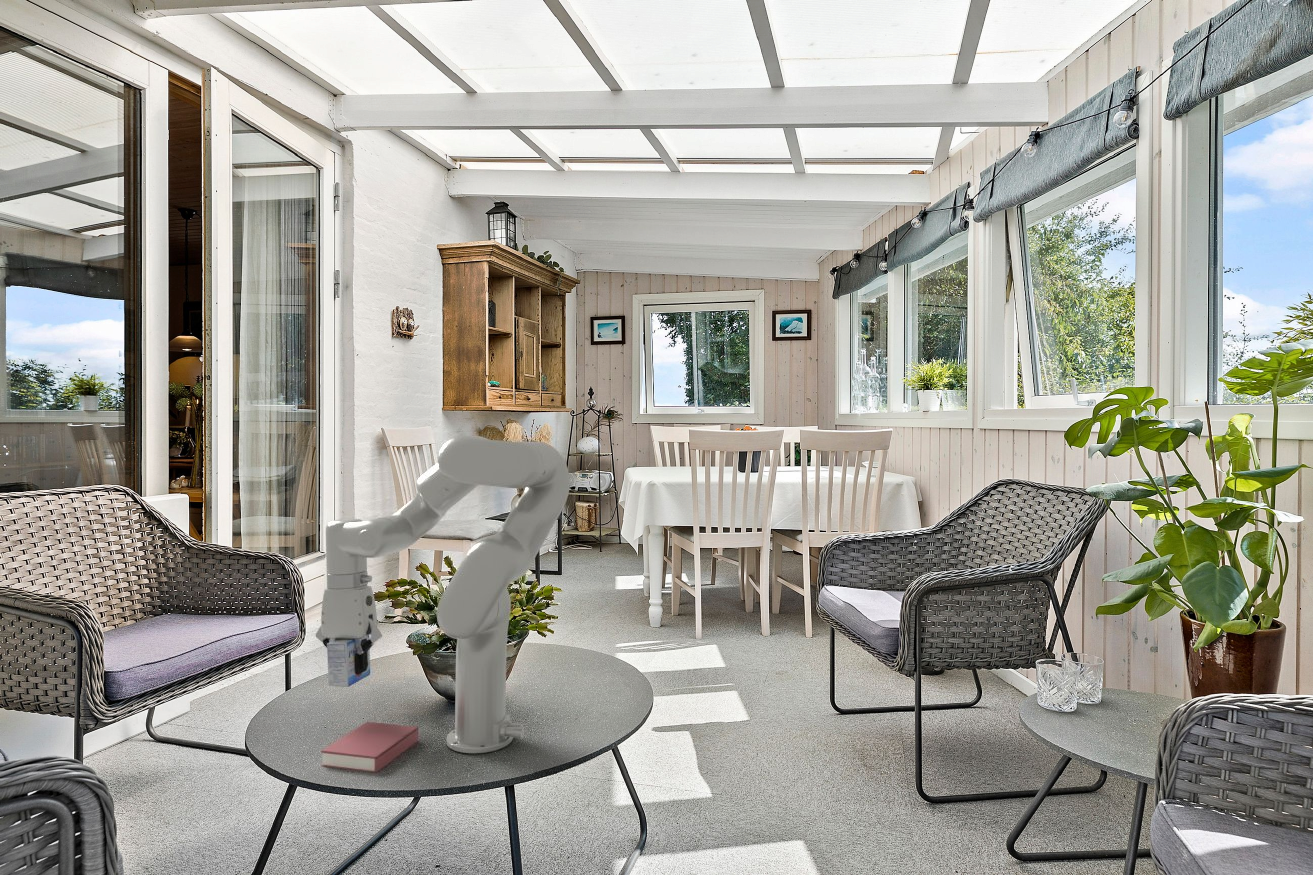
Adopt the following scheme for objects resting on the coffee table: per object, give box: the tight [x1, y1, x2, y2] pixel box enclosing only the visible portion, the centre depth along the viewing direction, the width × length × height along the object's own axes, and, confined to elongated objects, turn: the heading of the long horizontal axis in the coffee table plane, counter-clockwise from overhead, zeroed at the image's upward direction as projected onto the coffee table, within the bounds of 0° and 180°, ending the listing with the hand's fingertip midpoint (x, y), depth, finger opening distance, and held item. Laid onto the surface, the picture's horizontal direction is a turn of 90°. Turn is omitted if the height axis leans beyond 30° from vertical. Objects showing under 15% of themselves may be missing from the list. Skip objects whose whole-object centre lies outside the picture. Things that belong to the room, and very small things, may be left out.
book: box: [321, 721, 419, 774], centre depth 140 cm, size 11×14×3 cm
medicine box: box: [326, 634, 371, 688], centre depth 151 cm, size 8×4×9 cm, turn 168°
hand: (349, 670), depth 151 cm, fingers closed on medicine box, 4 cm apart
